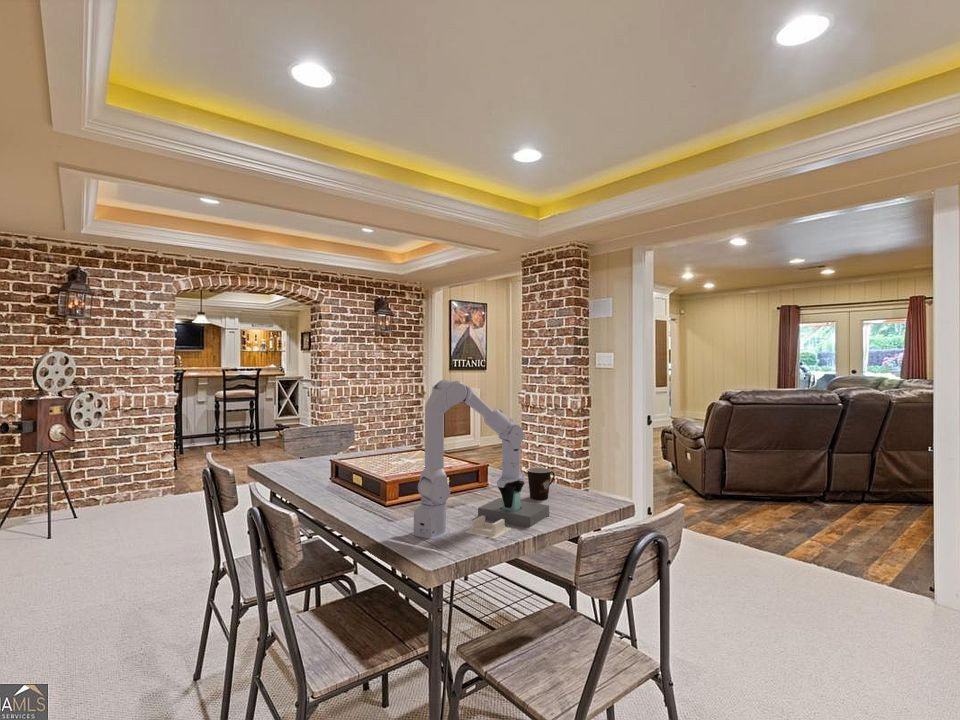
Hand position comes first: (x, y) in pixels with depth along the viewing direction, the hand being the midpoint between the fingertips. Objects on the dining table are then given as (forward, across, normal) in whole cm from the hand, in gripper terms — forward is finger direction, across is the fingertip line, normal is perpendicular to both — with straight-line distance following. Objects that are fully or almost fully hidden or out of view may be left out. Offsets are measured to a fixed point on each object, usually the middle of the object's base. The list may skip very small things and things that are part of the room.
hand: (510, 505), depth 162 cm
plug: (+2, 0, 0) cm, 2 cm away
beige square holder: (+4, -14, 0) cm, 15 cm away
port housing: (+4, +2, 0) cm, 5 cm away
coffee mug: (+4, +29, +2) cm, 29 cm away
